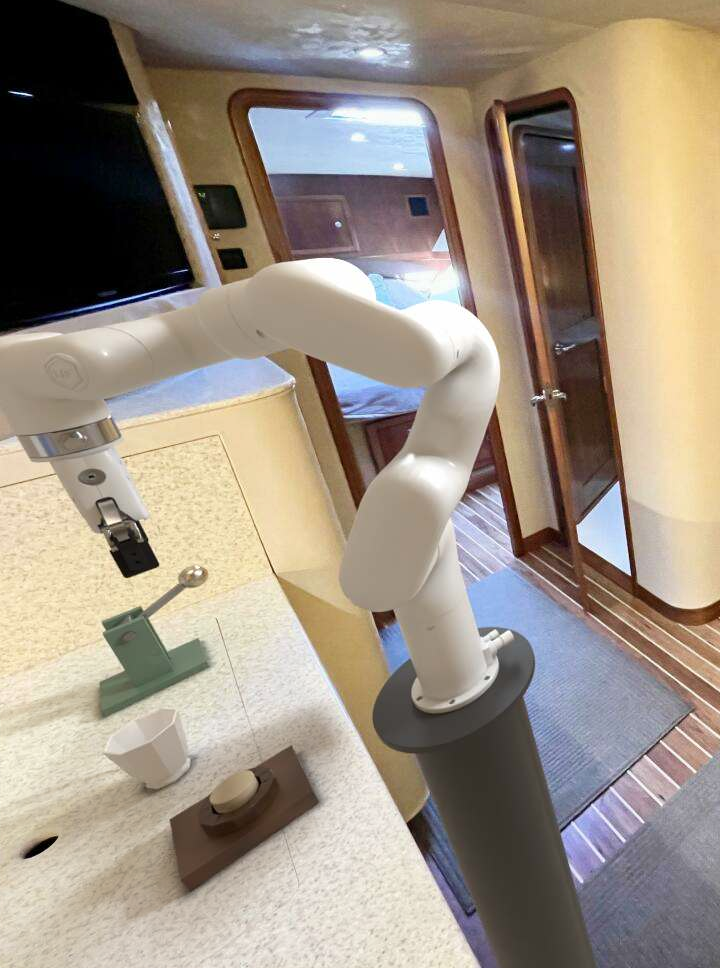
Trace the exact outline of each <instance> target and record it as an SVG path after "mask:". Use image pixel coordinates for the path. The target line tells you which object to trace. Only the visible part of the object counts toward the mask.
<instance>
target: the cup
mask: <svg viewBox="0 0 720 968" xmlns="http://www.w3.org/2000/svg"><path fill="white" fill-rule="evenodd" d="M102 754H103V755H104V756H105V757H106V758H107V759H109V760H110V761H111V762H112V763H114V764H115V765H117V767H119V769H121V770H122V771H123V772H124V773H126V774H127V775H128V776H130V777H132V778H133V779H136V780H137V781H139V782H140V783H145V787H146V788H147V789H152V790H153V789H154V790H159V789H161V788H164V787H165V786H166V787H167V786H168V785H170V784H172V783H174V782H176V781H177V780H178V779H179V778H180V777H181V776H183V775H184V774H185V773H186V772H187V771H188V770H190V766H191V762H192V758H191V757H189V756H188V755H189V748H188V739H187V736H186V732H185V729H184V726H183V722H182V718H181V715H180V711H179V709H178V708H170V707H158V708H157V709H153V710H151V711H149V712H147V713H144V714H142V715H138V716H137V717H134V718H132V719H131V720H130V721H128V722H127V723H126V724H124V725H123V726H122V727H120V728H119V729H118V730H116V731H115V732H113V733H112V734H111V735H110V736H108V738H107V740H106V743H105V744H104V747H103V750H102Z"/></svg>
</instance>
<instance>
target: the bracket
mask: <svg viewBox="0 0 720 968" xmlns="http://www.w3.org/2000/svg"><path fill="white" fill-rule="evenodd" d="M144 610H145V609H144V608H143V606H142V605H139V606H137V607H134V608H131V609H129V610H126V611H124V612H121V613H119V614H116V615H113V616H111V617H109V618H106V619H104V620H101V625H102V627H103V628H104V631H102V636H103V638H104V639H105V641H106V643H107V644H108V646H109V647H110V649H111V650H112V652H113V654H114V655H115V657H116V658H117V660H118V662H119V663H120V665H121V666H122V668H123V669H124V670H123V671H120V672H119V673H117V674H114V675H112V676H109V677H106V678H105V679H103V680H101V681H99V682H98V683H99V696H100V697H99V698H100V709H101V713H102V714H103V716H104V717H108V716H110V715H112V714H114V713H116V712H119V711H121V710H122V709H124V708H126V707H128V706H131V705H132V704H134V703H137V702H139V701H141V700H143V699H145V698H147V697H149V696H151V695H153V694H156V693H158V692H160V691H162V690H164V689H166V688H168V687H170V686H172V685H175V684H176V683H178V682H181V681H183V680H185V679H187V678H188V677H191V676H193V675H195V674H197V673H199V672H201V671H203V670H205V669H208V668H210V663H209V661H208V658H207V656H206V652H205V650H204V646H203V644H202V641H201V639H200V638H199V637H196V638H195V639H192V640H190V641H188V642H185V643H183V644H180V645H178V646H177V647H174V648H172V649H170V650H168V649H167V648H166V646H165V644H164V643H163V640H162V639H161V637H160V636H159V634H158V632H157V631H156V628H155V626H153V624H152V622H151V620H150V617H149V618H148V619H147V620H145V618H144V616H141V617H139V618H136V619H134V620H131V621H129V622H127V623H124V624H122V625H119V626H117V627H115V626H116V625H117V624H118V623H120V622H121V621H122V620H123V619H125V618H126V617H127V616H129V615H131V616H133V617H137V616H138V615H139V614H140V613H142V612H143V611H144ZM113 627H114V628H113Z"/></svg>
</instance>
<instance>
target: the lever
mask: <svg viewBox="0 0 720 968" xmlns="http://www.w3.org/2000/svg"><path fill="white" fill-rule="evenodd" d="M208 579H209V571H208V569H207V568H205V567H204V566H202V565H190V566H188V567H185V568H184V569H183V570H181V572H179V574H178V576H177V582H178V583H176V584H175V586H173V587H172V588H171V589H170V590H168V591H167V592H165V594H163V595H162V596H161V597H159V598H158V599H157V600H155V601H154V602H153V603H152V604H150V605H149V606H148V607H147V608H145V609H143V610H144V611H143V612H142V613H140V614H139V615H138V616H137V617H133V616H131V615H129V616H127V617H126V618H125V619H123V620H122V621H121V622H120V623H118V624H117V625H116V626H115V627H117V626H119V625H122V624H124V623H127V622H129V621H131V620H134V619H136V618H139V617H141V616H144V618H145V620H147V619H148V618H149V619H150V617H152V616H153V615H154V614H156V613H157V612H158V611H159V610H161V609H162V608H163V607H164V606H166V605H167V604H169V602H170V601H172V600H173V599H175V597H177V596H178V595H179V594H180V593H182V592H183V591H184V590H186V589H195V588H198V587H201V586H203V585H205V583H206V582H207V581H208ZM113 628H114V627H113Z"/></svg>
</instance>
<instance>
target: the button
mask: <svg viewBox="0 0 720 968" xmlns="http://www.w3.org/2000/svg"><path fill="white" fill-rule="evenodd" d="M245 770H246V771H244V770H240V771H238V772H234V773H233V774H231V775H229V776H227V777H226V778H225V779H223V780H222V781H221V782H219V783H218V784H217V785H216V786H215V787H214V789H212V790H213V792H212V791H211V792H212V793H211V792H210V793H211V796H210V802H211V804H212V805H213V807H214V808H215V810H216V812H218V813H220V814H226V813H229V812H232V811H234V810H236V809H237V808H239V807H241V806H242V805H244V804H245V803H247V802H248V801H249V800H250V799H251V798H252V797H253V796H254V795H255V794H256V792H257V790H258V788H259V783H258V781H257V779H256V777H255V776H254V774H253V772H251V771H247V769H245Z"/></svg>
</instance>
